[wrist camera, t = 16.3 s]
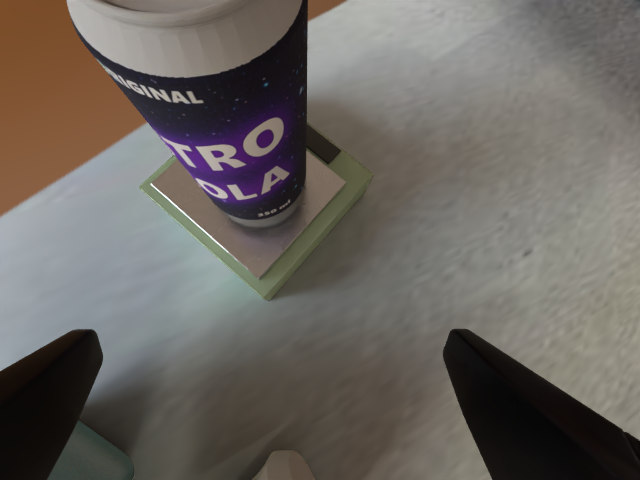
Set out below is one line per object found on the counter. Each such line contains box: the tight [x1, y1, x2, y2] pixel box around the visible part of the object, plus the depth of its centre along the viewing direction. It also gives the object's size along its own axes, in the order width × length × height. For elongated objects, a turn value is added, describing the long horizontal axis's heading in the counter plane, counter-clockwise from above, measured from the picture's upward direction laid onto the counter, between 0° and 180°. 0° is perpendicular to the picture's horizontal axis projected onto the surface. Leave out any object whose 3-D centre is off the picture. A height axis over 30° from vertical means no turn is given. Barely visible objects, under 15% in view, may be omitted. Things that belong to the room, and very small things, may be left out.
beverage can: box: [67, 0, 308, 220], centre depth 12 cm, size 6×6×12 cm
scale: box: [139, 123, 373, 300], centre depth 20 cm, size 10×10×3 cm
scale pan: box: [151, 150, 346, 280], centre depth 18 cm, size 8×8×1 cm
